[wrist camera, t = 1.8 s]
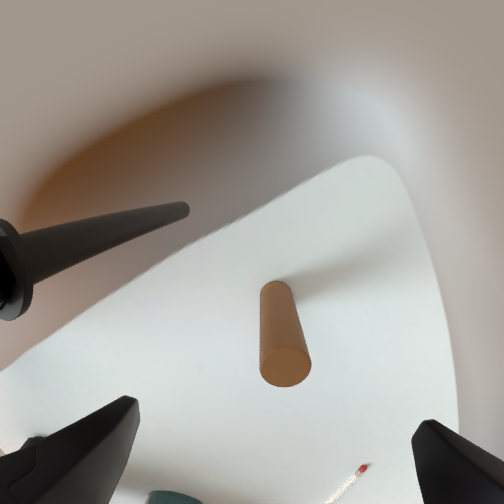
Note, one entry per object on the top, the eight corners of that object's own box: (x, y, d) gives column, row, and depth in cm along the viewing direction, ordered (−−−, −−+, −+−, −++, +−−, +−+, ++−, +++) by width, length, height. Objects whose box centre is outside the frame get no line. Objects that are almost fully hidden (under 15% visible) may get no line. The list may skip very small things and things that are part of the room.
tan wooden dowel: (253, 292, 18) (249, 364, 10) (280, 274, 18) (293, 337, 10) (272, 315, 18) (278, 395, 11) (297, 298, 18) (321, 371, 10)
